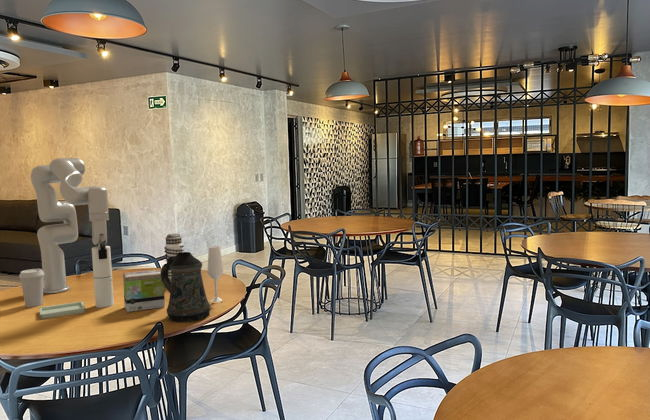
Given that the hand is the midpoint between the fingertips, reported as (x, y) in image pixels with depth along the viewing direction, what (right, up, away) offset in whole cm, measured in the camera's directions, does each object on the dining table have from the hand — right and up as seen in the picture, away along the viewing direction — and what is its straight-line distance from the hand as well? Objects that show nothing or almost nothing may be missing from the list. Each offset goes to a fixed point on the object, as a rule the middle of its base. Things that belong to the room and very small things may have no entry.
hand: (101, 257), depth 211 cm
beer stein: (+40, -22, -15) cm, 48 cm away
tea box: (+19, -21, -2) cm, 28 cm away
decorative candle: (+20, -17, +37) cm, 45 cm away
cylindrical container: (0, -21, +2) cm, 21 cm away
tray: (-13, -22, -7) cm, 26 cm away
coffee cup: (-31, -21, +4) cm, 38 cm away
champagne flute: (+48, -20, +4) cm, 52 cm away
